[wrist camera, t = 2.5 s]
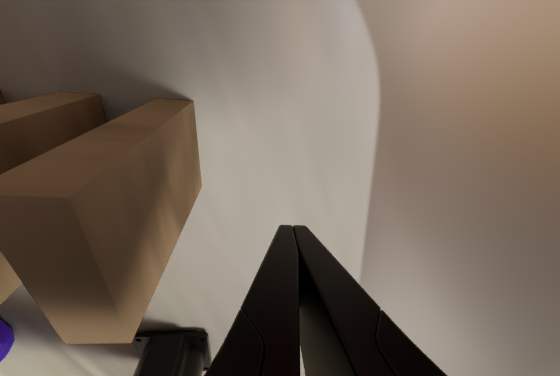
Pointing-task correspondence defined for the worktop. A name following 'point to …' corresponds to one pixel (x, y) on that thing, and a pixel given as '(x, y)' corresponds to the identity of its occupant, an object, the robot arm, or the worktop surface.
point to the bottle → (5, 339)
